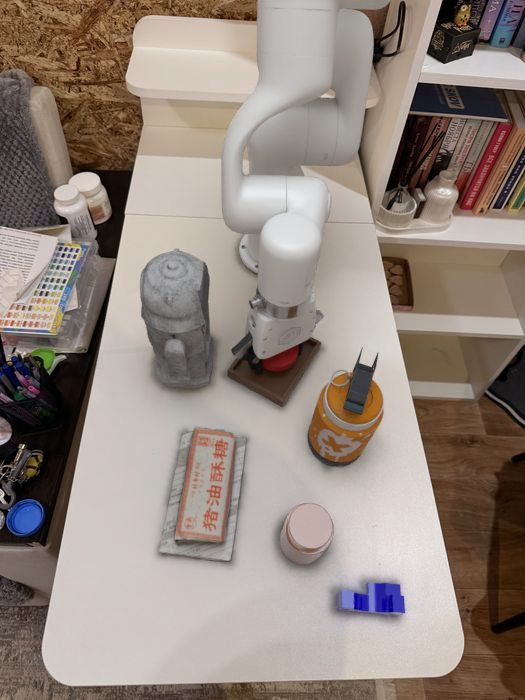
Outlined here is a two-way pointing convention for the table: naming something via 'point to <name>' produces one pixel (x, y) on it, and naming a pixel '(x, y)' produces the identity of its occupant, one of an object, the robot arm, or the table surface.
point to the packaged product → (204, 495)
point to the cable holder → (373, 599)
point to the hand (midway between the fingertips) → (275, 357)
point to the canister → (346, 415)
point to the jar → (306, 533)
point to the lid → (281, 360)
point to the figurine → (178, 318)
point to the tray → (275, 375)
